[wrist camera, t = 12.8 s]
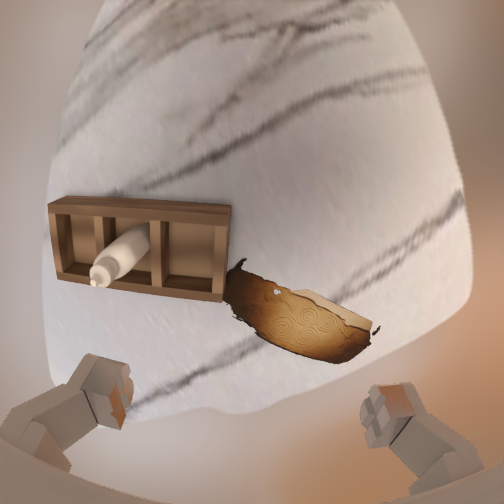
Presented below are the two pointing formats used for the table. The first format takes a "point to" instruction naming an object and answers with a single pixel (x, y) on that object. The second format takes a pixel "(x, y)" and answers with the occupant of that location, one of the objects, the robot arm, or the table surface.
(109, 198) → the slot rack
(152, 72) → the table surface
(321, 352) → the parchment
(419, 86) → the table surface
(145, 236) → the eye dropper bottle
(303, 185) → the table surface
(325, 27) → the table surface
